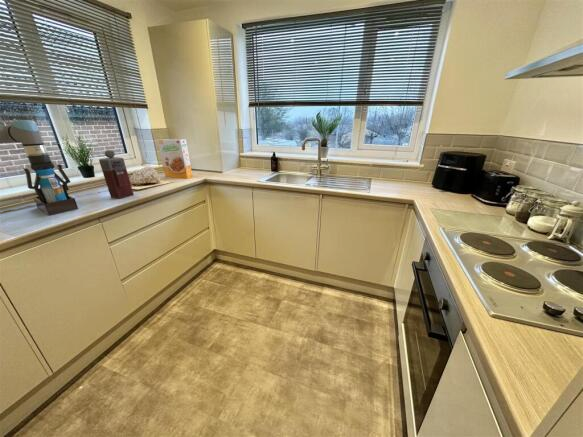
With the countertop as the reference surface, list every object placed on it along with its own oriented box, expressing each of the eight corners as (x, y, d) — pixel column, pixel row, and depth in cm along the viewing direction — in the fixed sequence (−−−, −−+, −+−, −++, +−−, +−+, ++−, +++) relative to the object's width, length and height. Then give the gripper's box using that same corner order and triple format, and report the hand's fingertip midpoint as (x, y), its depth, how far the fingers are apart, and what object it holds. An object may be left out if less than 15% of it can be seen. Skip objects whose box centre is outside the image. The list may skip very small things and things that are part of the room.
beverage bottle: (46, 210, 121) (29, 171, 114) (50, 205, 128) (34, 168, 120) (68, 207, 125) (52, 169, 118) (71, 203, 132) (57, 166, 125)
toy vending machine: (122, 199, 144) (107, 151, 133) (110, 197, 148) (95, 150, 137) (136, 195, 151) (123, 149, 141) (124, 193, 155) (111, 149, 145)
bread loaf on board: (151, 179, 192) (154, 162, 184) (169, 194, 189) (174, 177, 181) (114, 186, 168) (117, 166, 160) (135, 203, 165) (139, 184, 157)
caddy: (37, 207, 132) (30, 191, 129) (65, 201, 141) (58, 186, 138) (49, 215, 120) (41, 197, 116) (78, 208, 129) (71, 191, 125)
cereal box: (165, 177, 200) (157, 139, 189) (171, 175, 206) (163, 139, 195) (187, 178, 194) (180, 139, 182) (192, 176, 199) (185, 139, 188)
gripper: (7, 157, 107) (29, 205, 115) (68, 152, 123) (83, 194, 131) (4, 156, 111) (26, 203, 119) (63, 151, 127) (78, 192, 135)
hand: (56, 198), depth 125 cm, fingers closed on beverage bottle, 8 cm apart
